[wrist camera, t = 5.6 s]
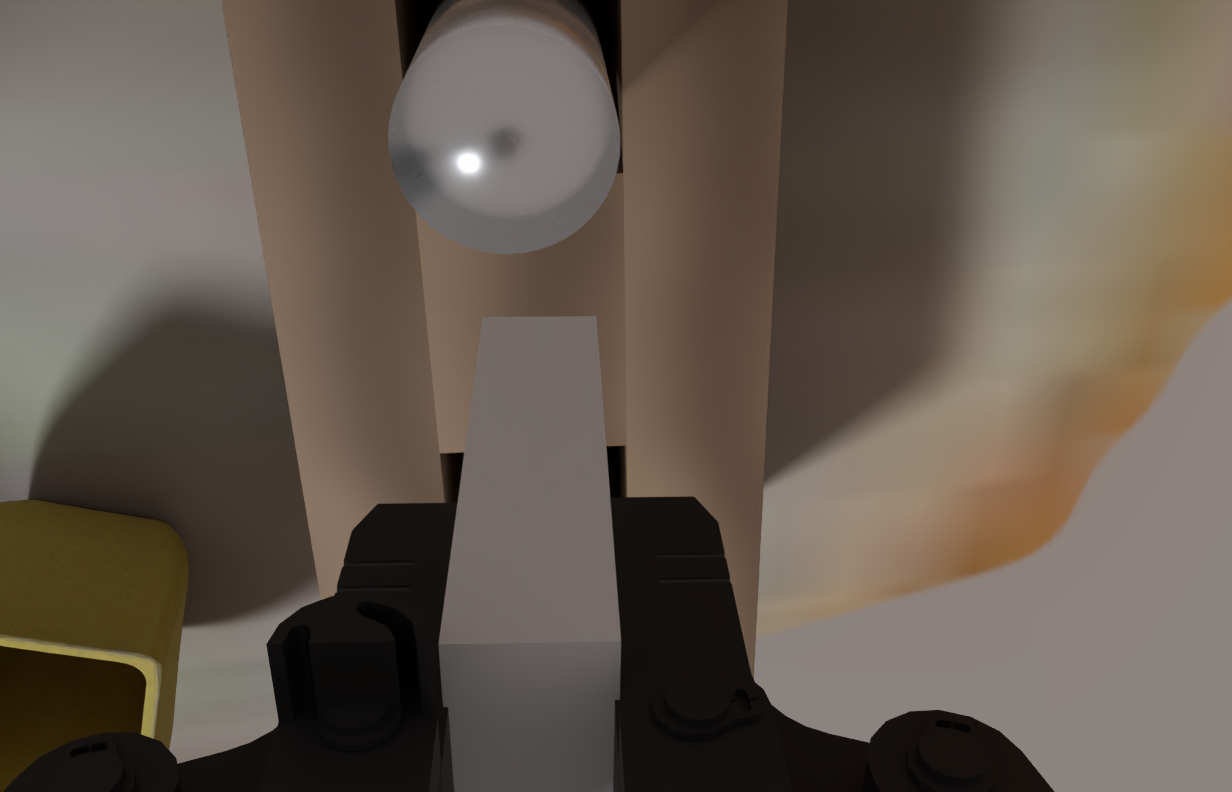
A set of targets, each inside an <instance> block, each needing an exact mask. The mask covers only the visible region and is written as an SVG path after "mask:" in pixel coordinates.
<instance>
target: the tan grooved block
mask: <svg viewBox="0 0 1232 792" xmlns="http://www.w3.org/2000/svg"><path fill="white" fill-rule="evenodd" d="M222 6H223V12H224V18H225V24H226V31H227V37H228V43H229V49H230V55H231V61H232V67H233V73H234V79H235V85H236V91H237V97H238V103H239V109H240V115H241V121H242V127H243V133H244V139H245V145H246V151H247V157H248V163H249V169H250V175H251V181H252V188H253V194H254V200H255V206H256V212H257V218H258V224H259V230H260V236H261V242H262V248H263V254H264V260H265V266H266V272H267V278H268V284H269V290H270V296H271V302H272V308H273V314H274V320H275V326H276V332H277V338H278V345H279V351H280V357H281V363H282V369H283V375H284V381H285V387H286V393H287V399H288V405H289V411H290V417H291V423H292V429H293V435H294V441H295V447H296V453H297V459H298V465H299V471H300V477H301V483H302V489H303V496H304V502H305V508H306V514H307V520H308V526H309V532H310V538H311V544H312V550H313V556H314V562H315V568H316V574H317V580H318V586H319V592H320V598H321V600H323V599H325V598H328V597H330V596H334V595H335V593H337V584H338V580H339V576H340V572H341V569H342V567H343V566H344V558H345V554H346V550H347V546H348V543H349V539H350V535H351V532H352V530H353V529H354V528H355V527H356V526H357V525H358V524H359V523H360V522H361V521H362V519H363V518H364V517H365V516H366V515H367V514H368V513H369V512H370V511H371V510H372V509H373V508H374V507H375V506H376V505H377V504H389V503H458V496H459V488H460V481H461V473H462V466H463V459H464V451H465V444H466V436H467V429H468V421H469V414H470V407H471V399H472V392H473V384H474V377H475V369H476V362H477V355H478V347H479V340H480V332H481V325H482V317H546V316H597V330H598V343H599V356H600V369H601V383H602V396H603V409H604V422H605V435H606V449H607V462H608V475H609V488H610V497H683V496H694V497H695V498H696V499H697V500H698V501H699V502H700V503H701V504H702V505H703V506H704V507H705V508H706V510H707V511H708V512H709V513H710V514H711V515H712V516H713V517H714V518H715V519H716V520H717V521H718V523H719V528H720V532H721V537H722V542H723V546H724V551H725V558H726V560H727V565H728V569H729V574H730V583H732V587H733V592H734V597H735V601H736V606H737V610H738V615H739V620H740V624H741V629H742V633H743V638H744V643H745V647H746V652H747V656H748V661H749V665H750V670H751V674H752V676H753V678H754V659H755V641H756V621H757V601H758V582H759V562H760V542H761V523H762V503H763V483H764V464H765V444H766V424H767V405H768V385H769V365H770V345H771V326H772V306H773V286H774V267H775V247H776V227H777V208H778V188H779V168H780V149H781V129H782V109H783V89H784V70H785V50H786V30H787V11H788V0H603V40H604V62H605V66H606V70H607V75H608V79H609V83H610V88H611V92H612V97H613V101H614V105H615V110H616V114H617V119H618V123H619V130H620V157H619V163H618V168H617V172H616V175H615V178H614V181H613V184H612V187H611V189H610V191H609V193H608V195H607V197H606V199H605V200H604V202H603V203H602V205H601V206H600V208H599V209H598V211H597V212H596V213H595V214H594V215H593V216H592V217H591V219H590V220H589V221H588V222H587V223H586V224H584V225H583V226H582V227H581V228H580V229H579V230H578V231H576V232H575V233H573V234H572V235H570V236H569V237H567V238H566V239H564V240H562V241H560V242H558V243H556V244H554V245H551V246H548V247H546V248H543V249H540V250H536V251H531V252H527V253H517V254H496V253H490V252H483V251H479V250H476V249H472V248H469V247H466V246H464V245H461V244H459V243H456V242H454V241H453V240H451V239H449V238H447V237H445V236H444V235H442V234H441V233H439V232H438V231H437V230H435V229H434V228H433V227H431V226H430V225H429V224H428V223H427V222H426V221H425V220H424V219H423V218H421V217H420V216H419V214H418V213H417V212H416V211H415V209H414V208H413V207H412V206H411V205H410V203H409V202H408V200H407V198H406V197H405V195H404V194H403V192H402V190H401V188H400V186H399V184H398V181H397V179H396V177H395V174H394V170H393V167H392V164H391V159H390V153H389V142H388V130H389V120H390V115H391V111H392V106H393V103H394V100H395V98H396V95H397V93H398V90H399V88H400V86H401V83H402V81H403V79H404V77H405V75H406V73H407V70H408V68H409V66H410V64H411V62H412V60H413V57H414V55H415V53H416V51H417V49H418V47H419V44H420V42H421V40H422V38H423V36H424V33H425V31H426V29H427V27H428V25H429V23H430V20H431V18H432V16H433V14H434V12H435V0H222Z"/></svg>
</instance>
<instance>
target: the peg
mask: <svg viewBox="0 0 1232 792" xmlns="http://www.w3.org/2000/svg"><path fill="white" fill-rule="evenodd" d="M388 142H389V153H390V159H391V164H392V167H393V170H394V174H395V177H396V179H397V181H398V184H399V186H400V188H401V190H402V192H403V194H404V195H405V197H406V198H407V200H408V202H409V203H410V205H411V206H412V207H413V208H414V209H415V211H416V212H417V213H418V214H419V216H420V217H421V218H423V219H424V220H425V221H426V222H427V223H428V224H429V225H430V226H431V227H433V228H434V229H435V230H437V231H438V232H439V233H441V234H442V235H444V236H445V237H447V238H449V239H451V240H453V241H454V242H456V243H459V244H461V245H464V246H466V247H469V248H472V249H476V250H479V251H483V252H490V253H496V254H517V253H527V252H531V251H536V250H540V249H543V248H546V247H548V246H551V245H554V244H556V243H558V242H560V241H562V240H564V239H566V238H567V237H569V236H570V235H572V234H573V233H575V232H576V231H578V230H579V229H580V228H581V227H582V226H583V225H584V224H586V223H587V222H588V221H589V220H590V219H591V217H592V216H593V215H594V214H595V213H596V212H597V211H598V209H599V208H600V206H601V205H602V203H603V202H604V200H605V199H606V197H607V195H608V193H609V191H610V189H611V187H612V184H613V181H614V178H615V175H616V172H617V168H618V163H619V157H620V130H619V123H618V119H617V114H616V110H615V105H614V101H613V97H612V92H611V88H610V83H609V79H608V75H607V70H606V66H605V62H604V57H603V53H602V49H601V44H600V40H599V36H598V31H597V27H596V23H595V18H594V15H593V13H592V10H591V7H590V5H589V3H588V1H587V0H440V1H439V3H438V5H437V7H436V10H435V12H434V14H433V16H432V18H431V20H430V23H429V25H428V27H427V29H426V31H425V33H424V36H423V38H422V40H421V42H420V44H419V47H418V49H417V51H416V53H415V55H414V57H413V60H412V62H411V64H410V66H409V68H408V70H407V73H406V75H405V77H404V79H403V81H402V83H401V86H400V88H399V90H398V93H397V95H396V98H395V100H394V103H393V106H392V111H391V115H390V120H389V130H388Z"/></svg>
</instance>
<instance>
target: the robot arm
mask: <svg viewBox="0 0 1232 792" xmlns="http://www.w3.org/2000/svg"><path fill="white" fill-rule="evenodd" d="M267 651H268V657H269V663H270V669H271V676H272V682H273V688H274V694H275V700H276V707H277V713H278V719H279V723H278V727H276V728H275V729H274V730H273V731H271V732H269V733H267V734H265V735H263V736H262V737H260V738H258V739H256V740H254V741H252V742H251V743H248V744H245V745H242V746H239V747H236V748H233V749H231V750H228V751H224V752H221V753H217V754H213V755H209V756H205V757H202V758H198V759H194V760H190V761H186V762H183V763H179V764H177V760H176V757H175V756H174V755H173V754H172V753H171V752H170V751H169V750H168V749H167V747H166V746H165V745H164V744H163V743H162V742H161V741H158V740H156V739H153V738H150V737H147V736H144V735H142V734H139V733H132V732H104V733H100V734H96V735H92V736H88V737H84V738H80V739H76V740H72V741H70V742H68V743H66V744H64V745H62V746H60V747H58V748H56V749H54V750H52V751H50V752H48V753H46V754H44V755H42V756H40V757H39V758H38V759H37V760H35V761H34V762H33V763H32V764H31V765H30V766H29V767H27V768H26V769H25V770H24V771H23V772H22V773H21V774H19V775H18V776H17V777H16V778H15V779H14V780H13V781H12V782H11V783H10V784H9V785H8V787H7V788H6V789H5V790H4V791H3V792H1054V791H1053V789H1052V788H1051V787H1050V786H1049V784H1048V783H1047V782H1046V781H1045V779H1044V778H1043V777H1042V776H1041V775H1040V773H1039V772H1038V771H1037V770H1036V768H1035V767H1034V766H1033V765H1032V763H1031V762H1030V761H1029V760H1028V758H1027V757H1026V756H1025V755H1024V753H1023V752H1022V751H1021V750H1020V749H1019V748H1017V747H1016V746H1015V745H1014V744H1013V743H1012V742H1011V741H1010V740H1009V739H1007V738H1006V737H1005V736H1004V735H1003V734H1002V733H1001V732H1000V731H998V730H996V729H994V728H992V727H990V726H988V725H986V724H984V723H982V722H980V721H978V720H976V719H974V718H972V717H969V716H964V715H960V714H955V713H950V712H946V711H941V710H932V711H911V712H908V713H906V714H903V715H900V716H898V717H895V718H893V719H890V720H888V721H886V722H885V723H884V724H883V725H882V726H881V727H880V728H879V730H878V731H877V732H876V733H875V734H874V735H873V737H871V741H870V743H868V742H864V741H859V740H855V739H850V738H846V737H841V736H837V735H832V734H828V733H825V732H822V731H819V730H816V729H812V728H809V727H806V726H804V725H802V724H800V723H798V722H796V721H794V720H792V719H791V718H788V717H787V716H785V715H784V714H782V713H781V712H780V711H778V710H777V709H776V708H775V707H774V706H772V705H771V703H770V701H769V699H768V697H767V695H766V693H765V691H764V690H763V689H762V688H761V687H760V686H759V685H757V684H756V683H755V682H754V679H753V676H752V674H751V670H750V665H749V661H748V656H747V652H746V647H745V643H744V638H743V633H742V629H741V624H740V620H739V615H738V610H737V606H736V601H735V597H734V592H733V587H732V583H730V574H729V569H728V565H727V560H726V558H725V551H724V546H723V542H722V537H721V532H720V528H719V523H718V521H717V520H716V519H715V518H714V517H713V516H712V515H711V514H710V513H709V512H708V511H707V510H706V508H705V507H704V506H703V505H702V504H701V503H700V502H699V501H698V500H697V499H696V498H695V497H694V496H683V497H610V488H609V475H608V462H607V449H606V435H605V422H604V409H603V396H602V383H601V369H600V356H599V343H598V330H597V316H546V317H482V325H481V332H480V340H479V347H478V355H477V362H476V369H475V377H474V384H473V392H472V399H471V407H470V414H469V421H468V429H467V436H466V444H465V451H464V459H463V466H462V473H461V481H460V488H459V496H458V503H389V504H377V505H376V506H375V507H374V508H373V509H372V510H371V511H370V512H369V513H368V514H367V515H366V516H365V517H364V518H363V519H362V521H361V522H360V523H359V524H358V525H357V526H356V527H355V528H354V529H353V530H352V532H351V535H350V539H349V543H348V546H347V550H346V554H345V558H344V566H343V567H342V569H341V572H340V576H339V580H338V584H337V593H335V595H334V596H330V597H328V598H325V599H323V600H320V601H317V602H315V603H312V604H310V605H307V606H304V607H302V608H300V609H299V610H298V611H296V612H295V613H294V614H292V615H291V616H290V617H288V618H287V619H286V620H284V621H283V622H282V623H280V624H279V625H278V627H277V629H276V630H275V632H274V633H273V635H272V636H271V638H270V640H269V641H268V643H267Z"/></svg>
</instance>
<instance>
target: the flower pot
mask: <svg viewBox="0 0 1232 792" xmlns="http://www.w3.org/2000/svg"><path fill="white" fill-rule="evenodd" d="M188 578H189V561H188V554H187V550H186V547H185V545H184V543H183V541H182V539H181V537H180V536H179V534H178V533H177V532H176V531H175V530H174V529H173V528H172V527H171V526H170V525H169V524H167V523H165V522H162V521H159V520H153V519H147V518H140V517H134V516H128V515H122V514H116V513H109V512H103V511H97V510H91V509H85V508H80V507H74V506H68V505H62V504H57V503H51V502H46V501H40V500H21V501H8V502H1V503H0V792H3V791H4V790H5V789H6V788H7V787H8V785H9V784H10V783H11V782H12V781H13V780H14V779H15V778H16V777H17V776H18V775H19V774H21V773H22V772H23V771H24V770H25V769H26V768H27V767H29V766H30V765H31V764H32V763H33V762H34V761H35V760H37V759H38V758H39V757H40V756H42V755H44V754H46V753H48V752H50V751H52V750H54V749H56V748H58V747H60V746H62V745H64V744H66V743H68V742H70V741H72V740H76V739H80V738H84V737H88V736H92V735H96V734H100V733H104V732H132V733H139V734H142V735H144V736H147V737H150V738H153V739H156V740H158V741H161V742H162V743H163V744H164V745H165V746H166V747H167V749H168V750H169V747H170V742H171V736H172V729H173V719H174V707H175V695H176V684H177V672H178V661H179V652H180V642H181V634H182V626H183V618H184V610H185V602H186V595H187V587H188Z"/></svg>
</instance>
